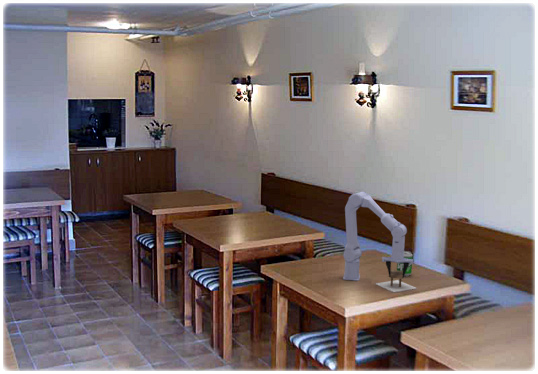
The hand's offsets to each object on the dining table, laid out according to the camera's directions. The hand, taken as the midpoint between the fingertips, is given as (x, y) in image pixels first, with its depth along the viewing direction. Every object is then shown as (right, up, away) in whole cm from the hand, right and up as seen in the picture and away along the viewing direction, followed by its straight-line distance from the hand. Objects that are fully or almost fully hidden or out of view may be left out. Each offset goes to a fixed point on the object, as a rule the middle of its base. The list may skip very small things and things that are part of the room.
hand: (396, 277), depth 315 cm
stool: (0, -3, 0) cm, 4 cm away
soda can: (+8, -2, +21) cm, 23 cm away
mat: (0, -5, +1) cm, 5 cm away
